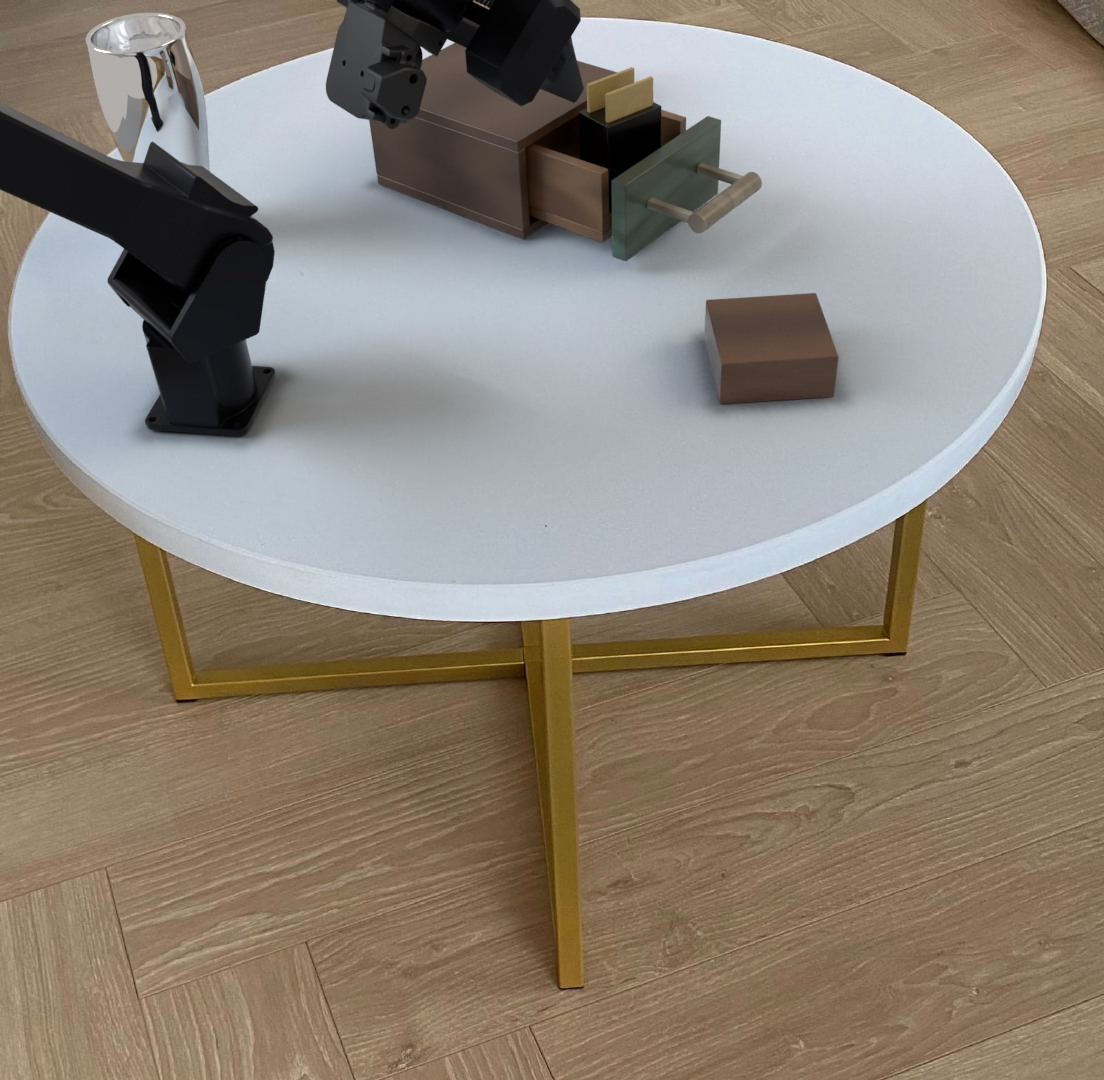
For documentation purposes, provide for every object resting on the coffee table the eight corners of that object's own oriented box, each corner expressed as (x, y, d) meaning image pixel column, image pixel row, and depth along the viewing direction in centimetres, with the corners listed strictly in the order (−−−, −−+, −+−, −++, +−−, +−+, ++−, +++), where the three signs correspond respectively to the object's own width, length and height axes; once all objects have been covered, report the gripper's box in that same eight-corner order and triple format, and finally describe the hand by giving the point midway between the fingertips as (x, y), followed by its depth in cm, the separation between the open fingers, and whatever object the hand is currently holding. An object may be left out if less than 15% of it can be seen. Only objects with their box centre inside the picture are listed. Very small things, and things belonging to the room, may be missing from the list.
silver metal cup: (212, 260, 97) (163, 56, 87) (122, 253, 98) (63, 51, 88) (247, 211, 102) (204, 12, 92) (161, 205, 103) (109, 8, 93)
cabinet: (627, 170, 104) (627, 74, 99) (523, 240, 97) (517, 141, 92) (484, 121, 111) (477, 30, 106) (377, 184, 104) (364, 89, 99)
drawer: (775, 213, 97) (781, 137, 93) (684, 284, 91) (687, 206, 87) (573, 145, 106) (570, 73, 102) (477, 206, 100) (471, 132, 96)
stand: (834, 397, 82) (839, 356, 80) (719, 404, 82) (721, 364, 80) (812, 332, 88) (816, 292, 86) (704, 338, 88) (705, 299, 86)
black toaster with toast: (660, 191, 98) (662, 77, 92) (608, 213, 96) (607, 99, 90) (632, 175, 100) (632, 63, 94) (580, 196, 98) (577, 83, 92)
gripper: (214, 17, 82) (390, 133, 94) (381, 121, 71) (556, 237, 83) (307, -153, 80) (474, -12, 92) (494, -73, 69) (655, 75, 81)
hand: (533, 71), depth 87 cm, fingers open, 9 cm apart
